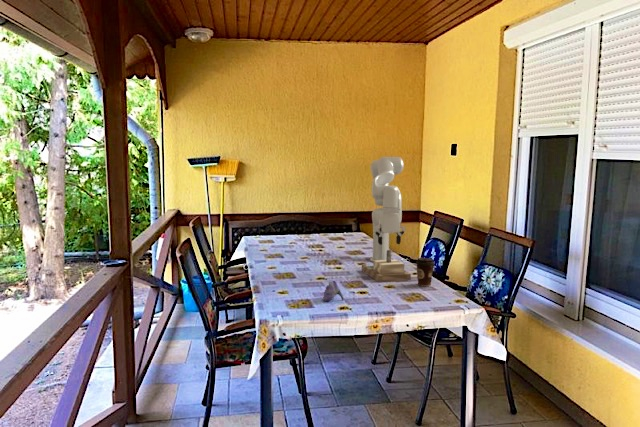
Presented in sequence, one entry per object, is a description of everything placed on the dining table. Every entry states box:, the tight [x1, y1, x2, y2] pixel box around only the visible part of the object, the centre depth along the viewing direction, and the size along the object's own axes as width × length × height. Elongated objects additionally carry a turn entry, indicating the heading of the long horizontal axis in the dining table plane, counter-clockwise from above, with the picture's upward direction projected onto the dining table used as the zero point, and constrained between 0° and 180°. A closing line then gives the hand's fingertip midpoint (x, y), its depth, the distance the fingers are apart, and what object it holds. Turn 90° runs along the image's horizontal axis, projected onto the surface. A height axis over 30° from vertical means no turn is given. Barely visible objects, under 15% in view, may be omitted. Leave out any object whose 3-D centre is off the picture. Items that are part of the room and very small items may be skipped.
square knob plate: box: [373, 249, 405, 275], centre depth 250 cm, size 12×12×13 cm
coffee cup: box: [415, 257, 435, 287], centre depth 235 cm, size 9×8×13 cm
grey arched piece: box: [322, 280, 345, 302], centre depth 210 cm, size 9×9×10 cm
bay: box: [361, 264, 412, 283], centre depth 255 cm, size 26×17×3 cm, turn 14°
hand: (389, 244), depth 249 cm, fingers open, 9 cm apart
